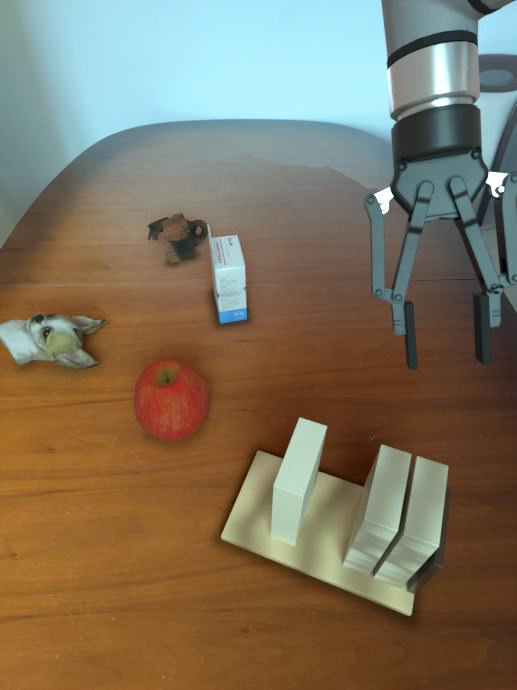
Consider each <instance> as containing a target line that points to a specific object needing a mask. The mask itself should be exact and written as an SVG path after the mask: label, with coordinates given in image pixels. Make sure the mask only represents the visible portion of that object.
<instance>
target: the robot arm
mask: <svg viewBox="0 0 517 690" xmlns="http://www.w3.org/2000/svg"><path fill="white" fill-rule="evenodd" d="M515 1H517V0H380V3H381V10H382V19H383V30H384V39H385V48H386V58H387V60H386V73H387V74H386V75H387V91H388V107H389V118H390V119H391V120H393V121H394V122H395V123H394V124H393V125H392V127H391V129H390V136H391V137H390V139H391V151H392V164H393V175H392V179H391V182H390V183H389V186H388V187H386V188H384V189H383V190H381V191H378V192H376V193H368V194H367V195H366V196H365V197H364V199H363V207H364V210H365V212H366V214H367V217H368V219H369V229H370V232H369V233H370V236H369V237H370V276H371V277H370V284H371V285H370V286H371V287H370V290H371V294H372V297H373V298H374V299H376V300H381V301H384V302H385V301H386V302H388V303H390V308H391V310H390V311H391V322H392V330H393V332H394V333H395V336H396V337H398V336H404V345H405V359H406V365H407V368H408V369H409V370H410V371H411V370H418V369H419V367H418V355H417V354H418V351H417V339H416V336H417V335H416V323H415V321H416V319H415V305H414V302H413V301H412V300H409V299H408V300H407V299H406V297H407V291H408V288H409V284H410V280H411V276H412V272H413V268H414V264H415V260H416V256H417V251H418V248H419V244H420V240H421V237H422V233H423V230H424V227H425V224H426V223H431V222H433V221H436V220H445V221H447V220H453V223H454V225H455V227H456V228H457V230H458V232H459V234H460V237H461V240H462V242H463V245H464V247H465V251H466V252H467V255H468V258H469V260H470V263H471V265H472V268H473V270H474V273H475V276H476V278H477V281H478V284H479V286H480V289H481V291H482V292H476V293H472V304H473V305H472V307H473V331H474V352H475V354H474V355H475V356H474V357H475V359H476V360H477V361H478V363H480V364H482V366H483V365H492V340H491V329H492V328H499V327H501V324H502V299H501V298H502V294H503V293H504V291H505V290H506V289H508V288H510V287H513V286H516V285H517V170H515V171H511V172H510V173H509V172H508V173H505V172H496V171H490V170H489V167H488V165H487V163H486V162H485V161H484V159H483V143H482V140H483V139H482V138H483V137H482V115H481V114H482V113H481V108H479V107H478V105H476V104H475V103H476V102H477V101H478V100H479V98H480V97H481V87H480V85H481V84H480V83H481V82H480V65H479V63H480V61H479V21H480V20H481V19H483V18H485V17H486V16H489V15H491V14H494V13H495V12H497V11H500V10H502V9H503V8H504V7H506V6H508V5H509V4H511V3H514V2H515ZM484 186H486V187H487V188H488V196H489V197H490V198H492V199H494V200H493V213H494V224H495V234H496V235H495V236H496V245H497V254H498V264H499V274H498V272H497V269H496V266H495V264H494V262H493V257H492V256H491V253H490V251H489V248H488V246H487V244H486V241H485V237H484V235H483V233H482V232H483V231H482V229H481V227H480V225H479V222H478V220H479V219H478V216H477V213H476V211H475V207H474V205H473V204H474V201H475V200H476V199H477V198H478V196H479V194H480V192H481V191H482V189H483V188H484ZM392 199H393V200H394V201H395V202H396V203H397V204H398V206H400V207H401V209H403V211H404V212H405V213H406V214H407V215H408V217H407V221H406V224H405V225H406V226H405V230H404V232H405V233H404V234H403V235H404V236H403V240H402V244H401V249H400V251H399V256H398V261H397V264H396V269H395V273H394V277H393V281H392V285H391V287H388V286H386V251H385V250H386V244H385V243H386V242H385V240H386V239H385V236H386V235H385V217H384V216H385V214H386V213H388V211H389V210H390V201H391V200H392Z"/></svg>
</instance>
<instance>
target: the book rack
mask: <svg viewBox="0 0 517 690" xmlns="http://www.w3.org/2000/svg"><path fill="white" fill-rule="evenodd" d="M412 456H413V455H412V453H410V452H407V451H404V450H401V449H398V448H394V447H392V446H388V445H386V444H382V443H381V444H380V446H379V449H378V451H377V453H376V456H375V458H374V461H373V464H372V466H371V468H370V471H369V473H368V476H367V478H366V480H365V482H364V485H363V486H362V485H359V484H356V483H353V482H350V481H347V480H344V479H342V478H339V477H336V476H333V475H330V474H328V473H325V472H322V471H319V470H318V474H317V479H316V483H315V487H314V489H313V492H312V495H311V498H310V501H309V504H308V507H307V510H306V513H305V517H304V520H303V523H302V526H301V529H300V532H299V535H298V538H297V541H296V545H295V546H292V545H290V544H287V543H285V542H282V541H280V540H277V539H275V538H272V537H271V519H272V501H273V485H274V482H275V480H276V477H277V474H278V472H279V469H280V467H281V464H282V461H283V459H284V458H282V457H279V456H276V455H274V454H270V453H268V452H264V451H262V450H259V449H258V450H257V451H256V454H255V455H254V458H253V460H252V462H251V465H250V467H249V469H248V471H247V475H246V477H245V479H244V481H243V483H242V486H241V488H240V491H239V493H238V495H237V497H236V499H235V502H234V504H233V507H232V509H231V512H230V513H229V516H228V518H227V521H226V523H225V525H224V528H223V530H222V532H221V534H220V539H221V540H222V541H224V542H228V543H230V544H232V545H235V546H236V547H240V548H242V549H244V550H247V551H249V552H252V553H254V554H256V555H259V556H262V557H264V558H266V559H269V560H271V561H274V562H276V563H278V564H282V565H283V566H285V567H288V568H290V569H293V570H296V571H298V572H301V573H302V574H305V575H308V576H310V577H312V578H315V579H317V580H320V581H322V582H324V583H327V584H329V585H331V586H335V587H337V588H339V589H342V590H344V591H346V592H349V593H352V594H354V595H356V596H359V597H361V598H364V599H366V600H369V601H370V602H373V603H376V604H378V605H381V606H383V607H385V608H388V609H390V610H393V611H396V612H397V613H401V614H402V615H405V616H408V617H410V616H412V615H413V607H414V600H415V595H416V594H417V593H418V592H419V591H420V590H421V589H422V588H423V587H424V586H425V585H426V584H427V583H428V582H429V581H431V579H432V578H434V576H436V575H437V574H438V573H439V572H440V571H441V570H442V569H443V568H444V562H445V552H446V544H447V543H446V542H447V533H448V525H449V516H450V505H451V499H452V498H451V497H452V488H450V487H447V484H448V476H449V475H448V473H449V465H447V464H444V463H441V462H438V461H434V460H433V459H432V460H431V459H429V458H426V457H422V456H420V455H417V456H416V457H415V459H414V461H413V463H412V464H411V460H412Z"/></svg>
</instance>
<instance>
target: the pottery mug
mask: <svg viewBox="0 0 517 690" xmlns="http://www.w3.org/2000/svg"><path fill="white" fill-rule="evenodd" d="M147 227H148V230H149V231H148V235H147V241H151V239H152V240H153V241H158V240H159V235H160V233H162V237H163V239H164V240H165V241H166V242H169V243H170V245H171V246H172V247H173V250H171V251H169V252H166V253H165V256H166V258H167V260H168V262H169V264H175V263H178V262H182V261H184V260H188V259H191V258H192V257H194V256H196V247H197V248H198V247H199V246H200V244H201V243H202V242H204V241H205V240H206V239H207V238H208V226H207V222H206V221H205V220H203V219H195V220H188V219H187V218H185V215H184V213H183V212H179V213H176V214H173V215H172V216H171V217H168V216H166V217H163V218H161V219H158V220H155V221H152V222H151V223H149V224H147ZM198 227H199V228H200V229H201V232H200V234H197V229H198Z"/></svg>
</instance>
